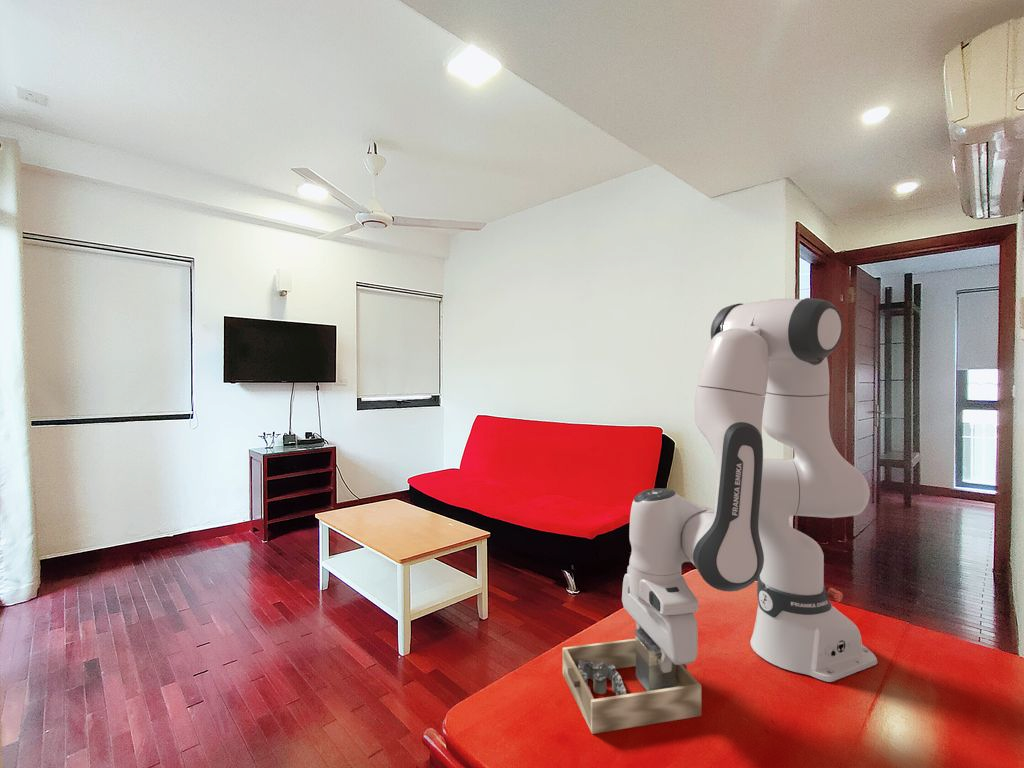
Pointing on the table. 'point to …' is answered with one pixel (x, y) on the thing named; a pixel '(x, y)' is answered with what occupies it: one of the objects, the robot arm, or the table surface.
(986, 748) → the table surface
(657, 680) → the tin
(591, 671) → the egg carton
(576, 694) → the tote
